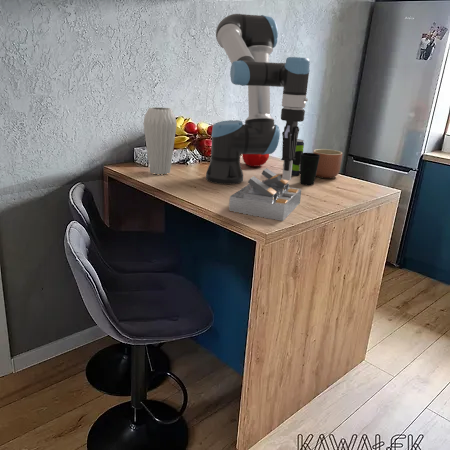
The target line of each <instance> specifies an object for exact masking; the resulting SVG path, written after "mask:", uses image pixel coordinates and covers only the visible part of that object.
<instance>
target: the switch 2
mask: <svg viewBox="0 0 450 450" xmlns="http://www.w3.org/2000/svg"><path fill="white" fill-rule="evenodd" d="M247 184H250V185H252V186H253V187H254V188H256V189H257V190H259V191H260V192H261V193H263V194H264V195H265V196H269V197H274V196H275V194H276V192H277V191H275V190H274V189H272V188H271V187H268V186H267V185H265V184H264V183H263V182H262V180H260V179H259V178H257V177H256V176H254V175H253V176H252V177H250V178H249V179H248V181H247Z"/></svg>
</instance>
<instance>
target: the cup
mask: <svg viewBox="0 0 450 450" xmlns="http://www.w3.org/2000/svg"><path fill="white" fill-rule="evenodd" d="M319 158H320V155H319V154H315V153H313V152H303V153H301V156H300V175H299V184H300V185H303V186H308V187H309V186H314V185H315V180H316V178H317V176H316V172H317V167H318V163H319Z"/></svg>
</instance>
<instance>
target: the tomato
mask: <svg viewBox="0 0 450 450" xmlns="http://www.w3.org/2000/svg"><path fill="white" fill-rule="evenodd" d="M241 155H242V157H241V159H242V160H243V162H244V164H245V165H246V166H249V167H259V166H262V165H265V164H266V163H267V161H268V160H269V158H270V154H264V155H261V154H241Z"/></svg>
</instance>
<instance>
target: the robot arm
mask: <svg viewBox="0 0 450 450" xmlns="http://www.w3.org/2000/svg"><path fill="white" fill-rule="evenodd" d="M215 38H216V41H217V43H218V45H219V46H220V47H221V48H222V49H223V50H224V52H225V53H226V55H227V58H228V59H229V62H230V64H231V65H230V71H229V73H230V74H229V76H230V81H231V82H230V83H232V84H233V85H236V86H242V87H245V86H247V89H248V91H247V93H248V96H247V97H248V98H247V99H248V100H247V101H248V117H247V118H246V119H244V124H243V122H242V120H240V119H239V120H238V119H235V120H232V119H228V120H221V121H217V122H215V123H214V124H213V125H212V130H211V151H210V162H209V165H208V168H207V170H206V174H205V180H206V181H207V182H209V183H214V184H219V185H236V184H240V183H242V182H244V173H243V168H242V165H241V155H242V154H261V155H264V154H269V155H271V154H274V152H275V151H276V150H277V148H278V146H279V144H280V143H279V141H280V136H281V135H282V153H281V155H282V156H281V159H280V160H281V161H283V164H282V165H283V166H282V176H281V178H282V179H284V180H287V181H291V180H292V175H291V173H292V163H293V161H292V160H295V159H296V158H293V157H295V151H296V145H297V139H299V138H298V137H299V134H300V127H299V124H298V123H300V122H304V120H305V113H306V110H305V108H306V102H308V101H309V99H308V98H307V94H308V85H309V76H310V71H311V70H310V69H311V68H310V64H311V63H310V59H309V58H308V57H300V56H299V57H298V56H288V57H287V58H285V62H270V55H271V53H272V52H273V49H274V48H275V47H276V46H277V44H278V38H279V30H278V25H277V22H276V20H275V19H274V17H272V16H269V15H268V16H267V15H263V14H262V15H258V14H257V15H256V14H244V13H232V14H230V15H229V14H228V15H227V16H226V17H224V18H222V19H221V21H219V23H218V25H217V26H216V30H215ZM270 87H274V88H275V87H281V88H283V89H282V90H283V91H282V97H281V98H282V99H281V100H282V101H281V106H282V108H281V112H280V119H281V120H282V121H283V122H284V121H285V122H286V123H285V126H284V128H283V131H282V133H280V132H281V130H280V126H279V125H277V124H275V119H274V118H273V117H272V116H271V91H270V89H271V88H270ZM280 134H281V135H280Z"/></svg>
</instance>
